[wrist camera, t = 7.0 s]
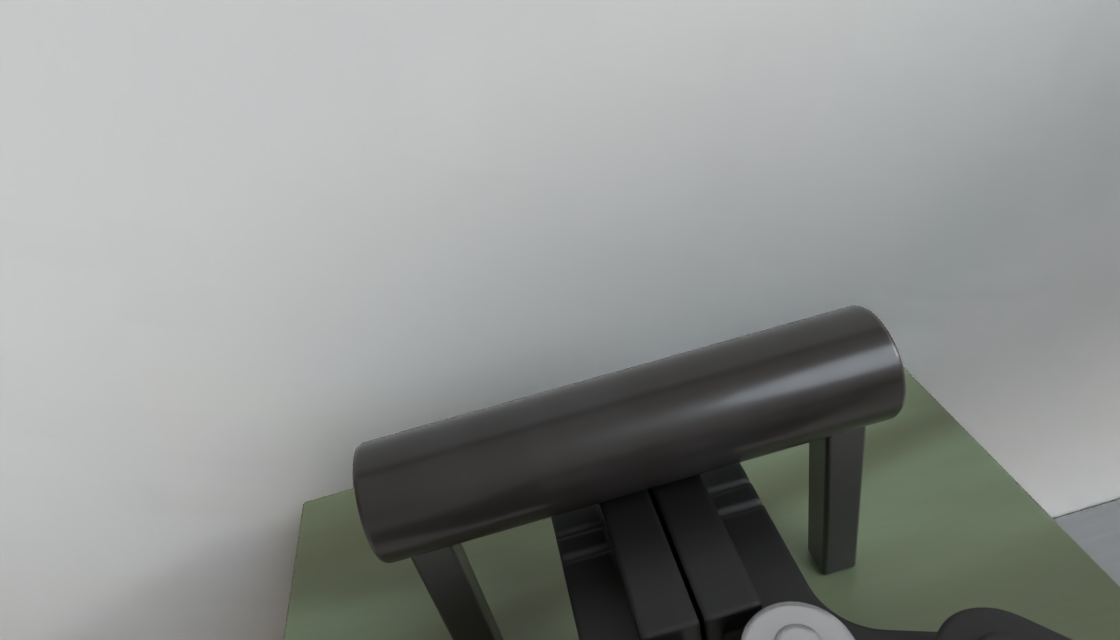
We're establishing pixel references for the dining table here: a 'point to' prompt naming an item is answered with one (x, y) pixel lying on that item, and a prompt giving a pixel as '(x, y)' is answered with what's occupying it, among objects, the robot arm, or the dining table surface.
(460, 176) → the dining table surface
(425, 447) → the drawer
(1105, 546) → the black lidded box
